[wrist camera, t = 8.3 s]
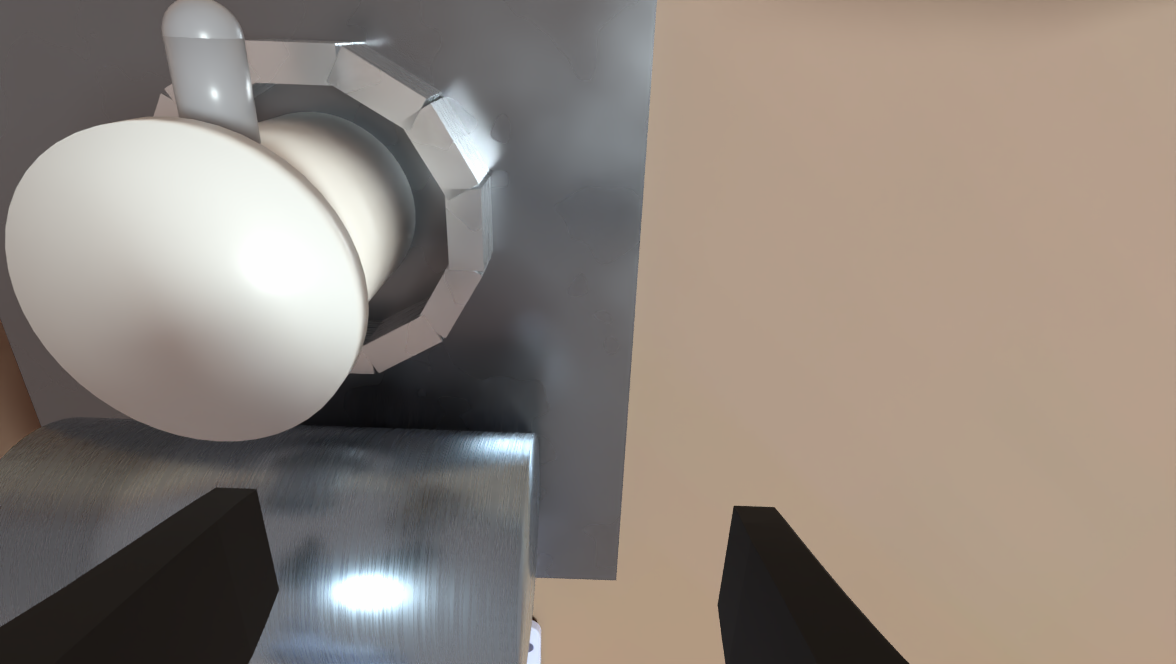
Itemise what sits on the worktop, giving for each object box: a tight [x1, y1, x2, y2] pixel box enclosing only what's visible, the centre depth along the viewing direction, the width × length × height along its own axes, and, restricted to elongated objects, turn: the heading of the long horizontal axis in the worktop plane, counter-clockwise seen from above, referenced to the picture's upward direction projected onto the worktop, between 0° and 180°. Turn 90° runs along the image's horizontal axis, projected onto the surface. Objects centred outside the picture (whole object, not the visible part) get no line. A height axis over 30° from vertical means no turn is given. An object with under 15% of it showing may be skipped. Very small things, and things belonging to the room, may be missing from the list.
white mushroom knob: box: [5, 0, 415, 441], centre depth 13 cm, size 7×6×6 cm
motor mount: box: [0, 0, 657, 664], centre depth 15 cm, size 18×17×7 cm
